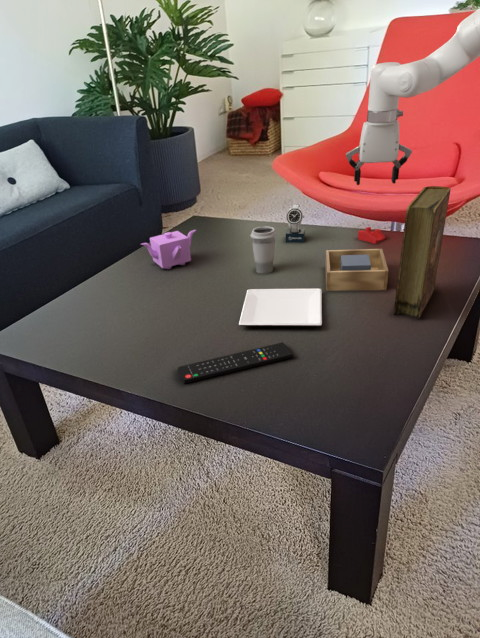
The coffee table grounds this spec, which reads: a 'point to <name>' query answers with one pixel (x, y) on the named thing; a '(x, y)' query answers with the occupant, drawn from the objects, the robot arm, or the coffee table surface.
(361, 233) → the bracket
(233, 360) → the remote control
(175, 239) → the teapot
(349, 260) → the grey block
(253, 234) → the cup
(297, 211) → the watch
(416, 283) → the book
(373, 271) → the crate
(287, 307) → the plate
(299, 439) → the coffee table surface
